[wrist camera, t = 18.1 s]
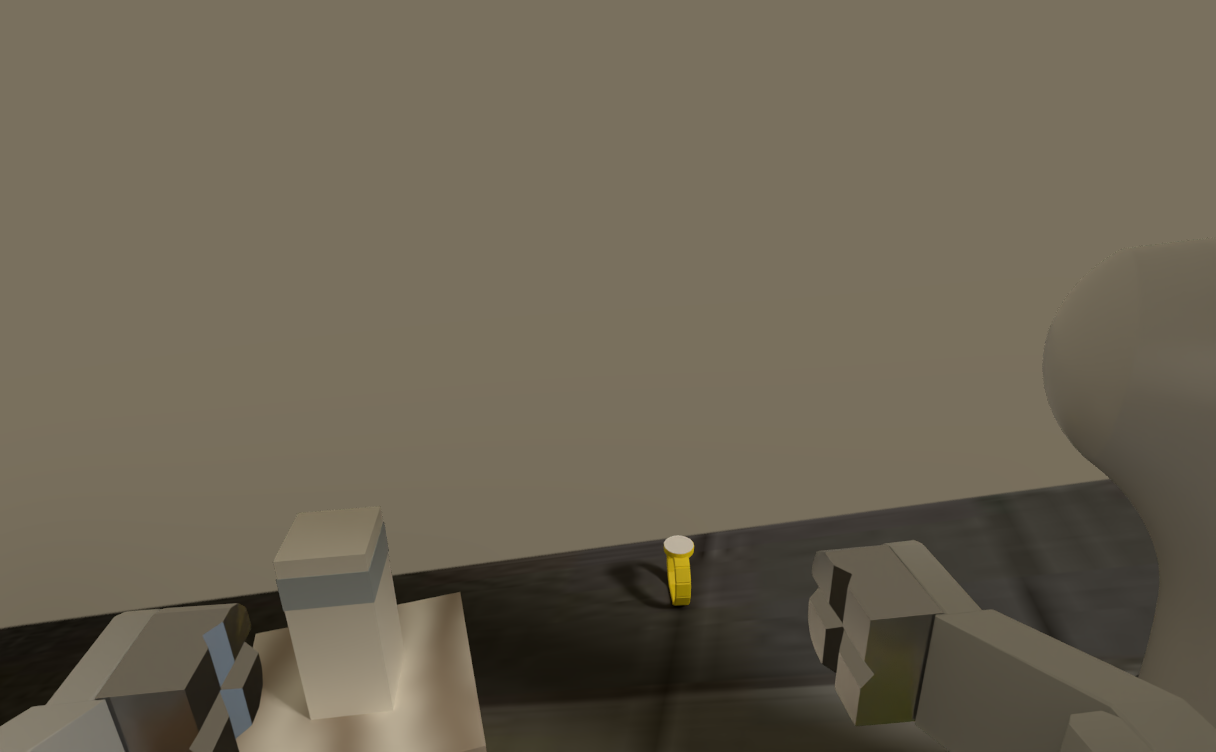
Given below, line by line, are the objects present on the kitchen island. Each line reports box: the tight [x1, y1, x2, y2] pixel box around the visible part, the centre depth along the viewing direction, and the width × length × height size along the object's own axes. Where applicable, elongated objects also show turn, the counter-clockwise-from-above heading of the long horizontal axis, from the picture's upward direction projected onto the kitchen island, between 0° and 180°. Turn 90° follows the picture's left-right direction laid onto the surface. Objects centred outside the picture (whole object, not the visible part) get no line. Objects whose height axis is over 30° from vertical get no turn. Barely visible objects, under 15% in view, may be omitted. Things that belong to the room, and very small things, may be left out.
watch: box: [664, 536, 694, 606], centre depth 67 cm, size 6×3×6 cm, turn 3°
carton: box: [273, 506, 405, 720], centre depth 49 cm, size 6×6×13 cm
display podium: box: [236, 592, 486, 752], centre depth 52 cm, size 16×16×5 cm
